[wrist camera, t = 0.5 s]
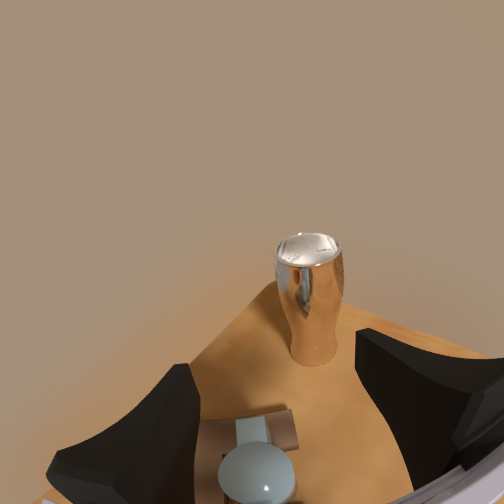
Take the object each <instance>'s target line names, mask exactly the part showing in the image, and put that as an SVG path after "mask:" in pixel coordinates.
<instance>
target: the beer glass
mask: <svg viewBox="0 0 504 504" xmlns="http://www.w3.org/2000/svg"><path fill="white" fill-rule="evenodd" d="M274 257H275V271H276V272H275V273H276V283H277V289H278V294H279V299H280V302H281V305H282V308H283V311H284V313H285V316H286V319H287V321H288V323H289V326H290V329H291V334H292V338H291V344H290V352H291V355H292V357H293V358H294V359H295V360H296V361H297V362H298V363H300V364H302V365H305V366H312V367H313V366H320V365H323V364H326V363H327V362H329V361H330V360H331V359H332V358H333V357H334V356H335V354H336V352H337V339H336V335H335V326H336V322H337V318H338V315H339V311H340V307H341V303H342V297H343V290H344V267H343V257H342V244H341V242H340V240H339V239H338V238H336V237H335V236H333V235H331V234H328V233H325V232H319V231H304V232H298V233H295V234H291V235H289V236H287V237H285V238H283V239H281V240H280V241H279V242H278V243H277V244H276V246H275V247H274Z"/></svg>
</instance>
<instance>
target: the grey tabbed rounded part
mask: <svg viewBox="0 0 504 504" xmlns="http://www.w3.org/2000/svg"><path fill="white" fill-rule="evenodd" d="M236 434H237V448H235V449H233V450H232V451H230V452H229V453H228V454H227V455H226V456H225V457H224V459H223V460H222V462H221V464H220V467H219V470H218V480H219V484H220V486H221V488H222V490H223V491H224V492H225V493H226V495H228V496H229V497H230V498H231V499H233V500H235V501H237V502H239V503H241V504H288V503H289V502H290V501H291V500H292V499H293V498H294V496H295V494H296V491H297V481H296V477H295V474H294V470H293V466H292V463H291V461H290V459H289V457H288V456H287V455H286V454H285V453H284V452H283V451H282V450H281V449H279V448H277V447H276V446H273V445H272V440H271V433H270V431H269V428H268V425H267V423H266V420H265V417H264V416H261V417H254V418H247V419H239V420H236Z"/></svg>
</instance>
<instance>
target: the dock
mask: <svg viewBox="0 0 504 504" xmlns="http://www.w3.org/2000/svg"><path fill="white" fill-rule="evenodd" d="M261 416H264V417H265V420H266V423H267V425H268V428H269V431H270V433H271V440H272V445H273V446H276V447H277V448H279V449H281V450H282V451H283V452H285V451H291V450H296V449H299V445H298V440H297V435H296V430H295V425H294V420H293V415H292V410H291V409H289V410H284V411H278V412H273V413H267V414H261V415H254V416H247V417H239V418H230V419H220V420H208V421H200V423H199V430H198V437H197V444H196V452H195V460H194V492H195V504H229V496H228V495H226V493H225V492H224V491H223V490H222V488H221V486H220V484H219V480H218V470H219V467H220V464H221V462H222V460H223V459H224V457H225V456H226V455H227V454H228V453H229V452H230V451H232V450H233V449H235V448H237V434H236V420H239V419H247V418H254V417H261Z"/></svg>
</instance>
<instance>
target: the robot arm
mask: <svg viewBox="0 0 504 504" xmlns="http://www.w3.org/2000/svg"><path fill="white" fill-rule="evenodd" d="M355 370H356V372H357V374H358V376H359V378H360V381H361V383H362V385H363V386H364V388H365V389H366V391H367V392H368V394H369V396H370V397H371V399H372V400H373V402H374V403H375V405H376V406H377V408H378V409H379V411H380V412H381V414H382V415H383V417H384V418H385V420H386V421H387V423H388V425H389V427H390V429H391V431H392V433H393V435H394V437H395V440H396V442H397V444H398V446H399V449H400V451H401V454H402V456H403V459H404V461H405V464H406V467H407V470H408V472H409V476H410V479H411V482H412V486H413V489H414V492H412V493H410V494H408V495H406V496H404V497H401V498H399V499H397V500H395V501H393V502H390V503H388V504H494V503H495V502H496V501H497V500H498V499H499V498H501V497H502V496H503V495H504V358H497V359H465V358H457V357H450V356H445V355H440V354H436V353H432V352H428V351H425V350H422V349H419V348H416V347H413V346H411V345H408V344H405V343H403V342H401V341H398V340H396V339H394V338H391V337H389V336H387V335H385V334H382V333H380V332H378V331H375V330H373V329H370V328H366V329H362V330H359V331H356V344H355ZM199 423H200V396H199V393H198V390H197V387H196V385H195V382H194V379H193V376H192V374H191V371H190V368H189V365H188V363H185V364H175V365H173V366H172V368H171V369H170V370H169V371H168V372H167V373H166V375H165V376H164V377H163V378H162V379H161V380H160V382H159V383H158V384H157V385H156V386H155V387H154V388H153V390H152V391H151V392H150V393H149V394H148V395H147V396H146V397H145V398H144V399H143V400H142V401H141V402H140V403H139V404H138V405H137V406H136V407H135V408H134V409H133V410H132V411H130V412H129V413H128V414H127V415H126V416H124V417H123V418H122V419H121V420H119V421H118V422H116V423H115V424H113V425H112V426H110V427H109V428H107V429H106V430H104V431H103V432H101V433H99V434H97V435H95V436H94V437H92V438H90V439H88V440H85V441H83V442H81V443H79V444H76V445H74V446H71V447H68V448H65V449H62V450H59V451H57V452H56V454H55V456H54V459H53V460H52V463H51V464H50V466H49V468H48V470H47V473H46V477H47V479H48V481H49V482H50V484H51V485H52V486H53V487H54V488H55V489H56V490H58V491H59V492H60V493H61V494H62V495H63V496H64V497H66V498H67V499H68V500H69V501H70V502H72V503H73V504H195V492H194V460H195V452H196V444H197V437H198V430H199ZM42 504H58V503H56V502H53V501H51V500H48V499H46V498H44V499H43V501H42Z"/></svg>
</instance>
